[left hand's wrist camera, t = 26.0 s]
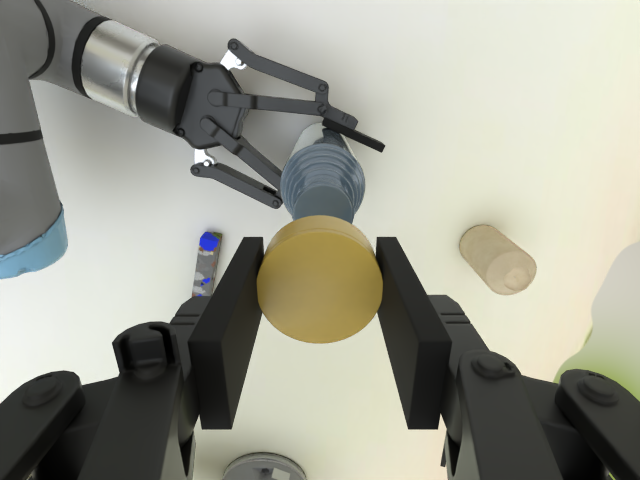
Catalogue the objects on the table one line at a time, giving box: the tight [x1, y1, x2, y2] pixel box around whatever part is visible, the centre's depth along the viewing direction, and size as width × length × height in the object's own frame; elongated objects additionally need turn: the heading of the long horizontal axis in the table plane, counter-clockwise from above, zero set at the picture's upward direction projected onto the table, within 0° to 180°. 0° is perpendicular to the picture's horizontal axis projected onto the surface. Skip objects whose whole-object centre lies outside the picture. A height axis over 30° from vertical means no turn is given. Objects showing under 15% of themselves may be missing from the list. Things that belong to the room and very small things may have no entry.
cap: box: [257, 215, 383, 343], centre depth 14 cm, size 5×5×2 cm
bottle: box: [280, 122, 365, 224], centre depth 32 cm, size 6×6×25 cm
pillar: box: [192, 232, 222, 297], centre depth 50 cm, size 2×2×20 cm
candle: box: [460, 225, 536, 295], centre depth 43 cm, size 6×6×10 cm
